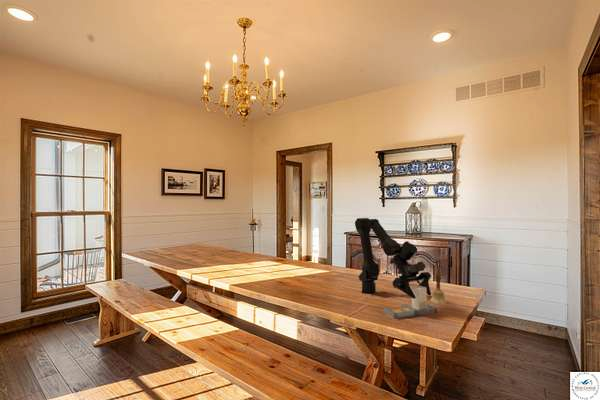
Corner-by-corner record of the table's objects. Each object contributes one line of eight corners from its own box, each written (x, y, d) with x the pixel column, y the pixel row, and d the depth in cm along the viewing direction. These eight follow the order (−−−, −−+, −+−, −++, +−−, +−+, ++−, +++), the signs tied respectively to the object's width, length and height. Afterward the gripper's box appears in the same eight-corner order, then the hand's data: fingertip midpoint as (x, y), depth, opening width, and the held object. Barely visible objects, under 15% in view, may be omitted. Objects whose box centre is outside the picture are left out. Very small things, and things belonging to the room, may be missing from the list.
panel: (395, 321, 127) (395, 314, 127) (380, 312, 137) (380, 305, 137) (438, 315, 133) (438, 308, 133) (421, 306, 144) (421, 300, 144)
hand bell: (425, 300, 153) (425, 267, 153) (442, 299, 154) (441, 266, 154) (434, 306, 145) (434, 271, 145) (451, 305, 145) (451, 270, 145)
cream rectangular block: (411, 309, 138) (411, 286, 138) (419, 307, 140) (419, 285, 140) (419, 312, 134) (419, 288, 134) (426, 310, 136) (426, 287, 136)
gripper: (396, 257, 136) (417, 289, 126) (427, 254, 144) (449, 283, 134) (384, 272, 143) (402, 303, 133) (414, 268, 151) (434, 297, 141)
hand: (422, 296), depth 135 cm, fingers open, 9 cm apart
